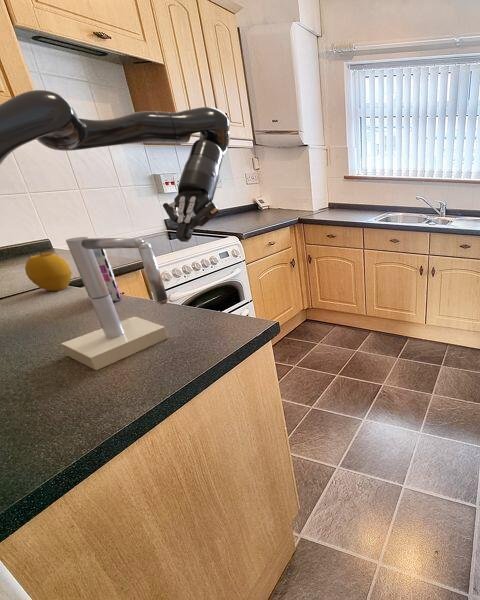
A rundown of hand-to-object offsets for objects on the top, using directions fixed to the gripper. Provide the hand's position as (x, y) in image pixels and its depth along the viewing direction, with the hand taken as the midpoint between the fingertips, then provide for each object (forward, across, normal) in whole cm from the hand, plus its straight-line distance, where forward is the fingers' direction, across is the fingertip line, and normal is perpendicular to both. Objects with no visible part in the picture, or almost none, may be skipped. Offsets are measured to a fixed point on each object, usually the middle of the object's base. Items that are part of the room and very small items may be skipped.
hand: (182, 239), depth 77 cm
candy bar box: (+5, +36, -25) cm, 44 cm away
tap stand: (+24, +12, -6) cm, 27 cm away
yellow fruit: (0, +59, -29) cm, 66 cm away
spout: (+16, +6, +1) cm, 17 cm away
